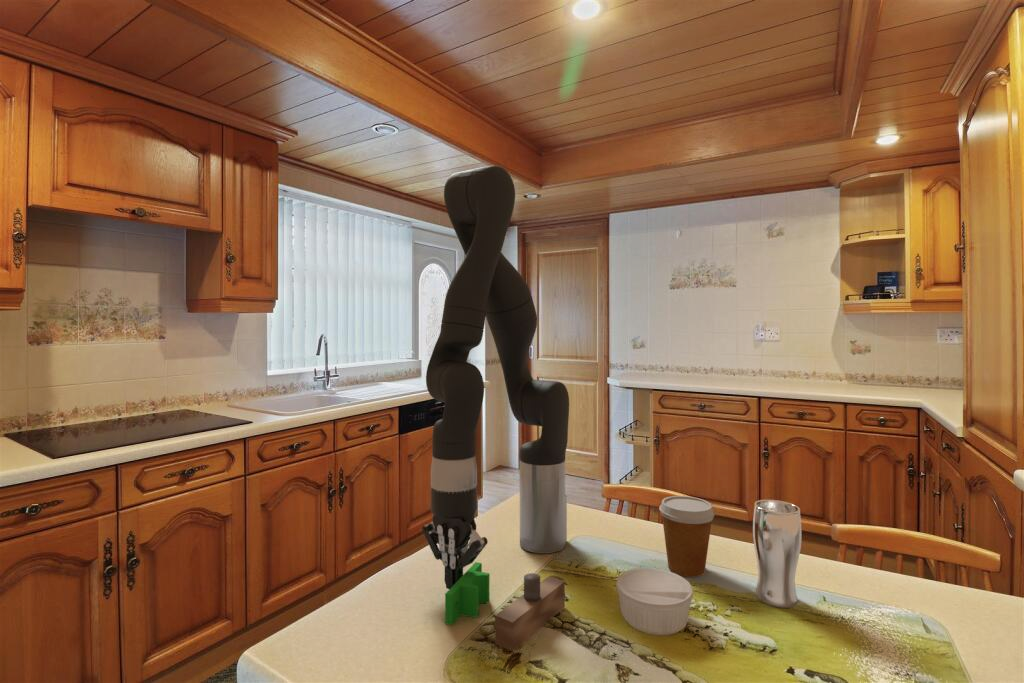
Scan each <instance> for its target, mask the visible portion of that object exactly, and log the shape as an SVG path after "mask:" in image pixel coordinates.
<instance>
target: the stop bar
mask: <svg viewBox="0 0 1024 683" xmlns="http://www.w3.org/2000/svg"><path fill="white" fill-rule="evenodd" d="M565 586H566V582H565V581H564V580H561V579H558V578H555V577H552V576H547V577H545V578H544V579H543V580H541V575H539V574H537V573H526V574H525V575H523V594H522V595H521V596H519V597H518V598H517V599H516V600H514V601H513V602H511V603H510V604H508V605H506V606H505V607H504V608H503V609H502V610H500V611H499V612H498V613H496V614H495V615H494V644H495V645H497V646H498V647H501V648H503V649H506V650H508V651H511V652H514V651H515V650H516V649H518V648H519V647H520V646H521V645H522V644H523V643H525V642H526V641H527V640H528V639H529V638H530V637H532V636H533V635H534V634H535V633H536V632H537V631H538V630H539V629H541V628H542V627H544V625H545V624H547V623H548V622H549V621H551V619H553V618H554V616H556V615H557V614H558V613H559V612H561V611H562V610H563V609H564V608H565V607H566V606H565V605H566V602H565V601H566V599H565V598H566V597H565V596H566V594H565V593H566V587H565Z"/></svg>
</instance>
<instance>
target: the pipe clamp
mask: <svg viewBox="0 0 1024 683" xmlns="http://www.w3.org/2000/svg"><path fill="white" fill-rule="evenodd" d="M482 564H483V563H482V562H477V561H474V562H473V563H472V565H471V566H470V567H469V568H468V569H467V570H466V572H465V573H463V576H462V577H461V578H460V579H459V580H458V581H457V582H456V583H455V584H454V585H453V586H452V587H451V588H450V589H447V591H446V593H445V595H444V597H445V598H444V599H445V604H444V605H445V611H444V614H445V616H444V617H445V624H446V625H450V626H453V625H454V623H456V621H458V619H459V618H460V617H461V616H466V617H470V618H478V617H479V609H480V608H479V604H488V603H490V572H484V571H482V570H483V569H482V568H483V565H482Z"/></svg>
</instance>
